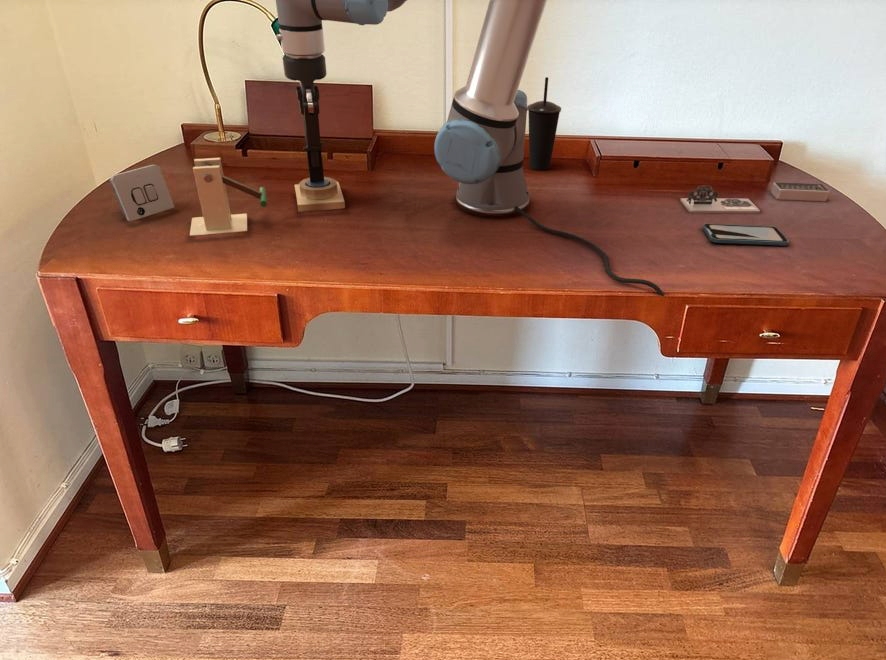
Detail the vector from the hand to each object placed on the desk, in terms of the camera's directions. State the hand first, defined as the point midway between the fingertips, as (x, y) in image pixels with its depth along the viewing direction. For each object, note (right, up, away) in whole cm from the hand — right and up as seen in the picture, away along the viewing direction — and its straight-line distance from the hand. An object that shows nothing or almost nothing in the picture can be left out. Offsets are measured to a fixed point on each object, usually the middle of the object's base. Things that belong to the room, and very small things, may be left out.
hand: (317, 180), depth 137 cm
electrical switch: (-32, -8, -4) cm, 33 cm away
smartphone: (+84, -12, -4) cm, 85 cm away
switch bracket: (-16, -11, -8) cm, 21 cm away
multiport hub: (+103, 0, +15) cm, 104 cm away
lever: (-13, -5, -12) cm, 18 cm away
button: (0, -2, +1) cm, 2 cm away
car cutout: (+84, -3, +9) cm, 84 cm away
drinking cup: (+47, +10, +25) cm, 54 cm away
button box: (0, -4, +3) cm, 5 cm away
